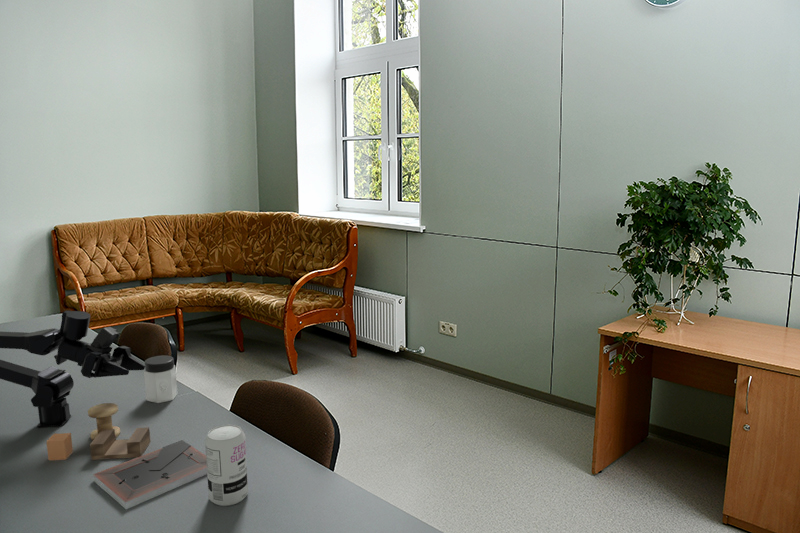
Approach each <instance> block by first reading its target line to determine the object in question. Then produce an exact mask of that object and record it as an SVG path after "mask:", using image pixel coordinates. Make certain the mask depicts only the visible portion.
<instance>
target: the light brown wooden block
mask: <svg viewBox="0 0 800 533" xmlns="http://www.w3.org/2000/svg"><path fill="white" fill-rule="evenodd" d="M72 439H73V438H72V433H71V432H67V433H66V432H65V433H64V432H63V433H53V434H52V435H51V436H50V437H49V438H48V440H46V448H47V457H48V461H63V460H67V459H68V458H69V457H70V456H71V455H72V453H73V452H74V450H73V449H74V447H73V440H72Z"/></svg>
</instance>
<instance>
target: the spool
mask: <svg viewBox="0 0 800 533" xmlns="http://www.w3.org/2000/svg"><path fill="white" fill-rule="evenodd" d="M118 411H119V407H118V404H116V403H114V402H113V403H111V402H106V403H104V402H103V403H99V404H96V405H93V406H91V407H90V408H89V409H88V410H87V415H88V417H90V418H92V419H95V420H96V429H94V430H92V431H91V432H90V433H89V434H90V440H91V441H93V440H94V439H95V438H96V436H97V435H98V434H99V433H100V432H101V430H104V429H115V439H116V438H118V437H119V436H120V435H121V428H120V427H119V426H115V425H113V419H112V418H113V417H112V416H113V415H115V414H117V413H118Z"/></svg>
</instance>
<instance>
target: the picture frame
mask: <svg viewBox="0 0 800 533" xmlns="http://www.w3.org/2000/svg"><path fill="white" fill-rule="evenodd" d="M206 475H207V462H206V454H205V453H203V452H201V451H199V449H196V448H195V447H193V446H192V445H191V444H189V443H187V442H186V441H184V440H183V439H181V440H178V441H176V442H173V443H169V444H168V445H165V446H163V447H162V448H159V449H156V450H154V451H151V452H149V453H148V452H147V453H146V454H143V455H142V456H140V457H134V458H131V459H130V460H128V461H125V462H122V463H119V464H116V465H114V466H112V467H109V468H106V469H104V470H101V471H99V472H96V473H94V474H93V475H92V476H93V482H94V483H95V484H97V486H99V487H100V488H101V489H102V490H103V491H105V492H106V493H107V494H108V495H109V496H110V497H111V498H113V499H114V500H115V501H116V502H117V503H118V504H120V505H121V506H122V508H124V509H125V510H129V509H130V508H133V507H135V506H137V505H140V504H142V503H145V502H146V501H148V500H151V499H153V498H155V497H158V496H160V495H163V494H164V493H167V492H170V491H172V490H173V489H177V488H178V487H181V486H183V485H185V484H187V483H188V484H189V483H190V482H192V481H195V480H197V479H200V478H202V477H203V476H206Z"/></svg>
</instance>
